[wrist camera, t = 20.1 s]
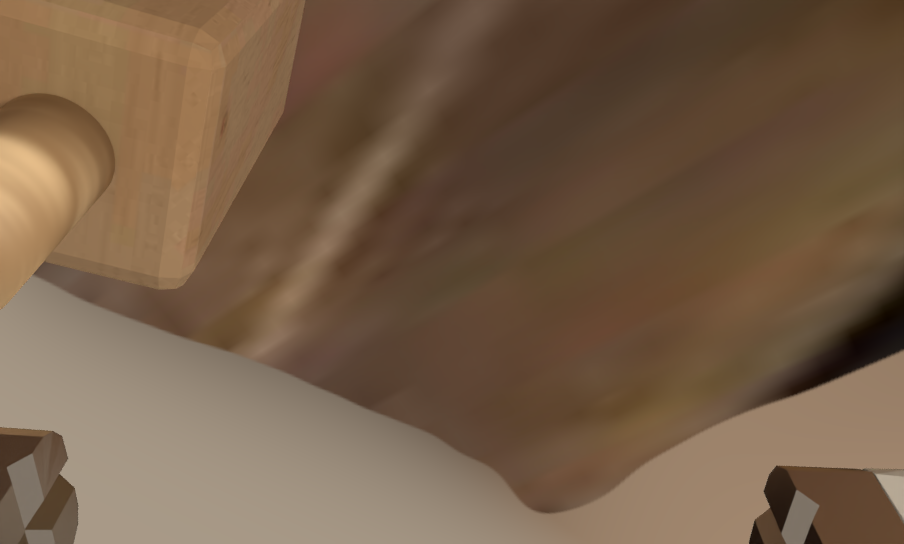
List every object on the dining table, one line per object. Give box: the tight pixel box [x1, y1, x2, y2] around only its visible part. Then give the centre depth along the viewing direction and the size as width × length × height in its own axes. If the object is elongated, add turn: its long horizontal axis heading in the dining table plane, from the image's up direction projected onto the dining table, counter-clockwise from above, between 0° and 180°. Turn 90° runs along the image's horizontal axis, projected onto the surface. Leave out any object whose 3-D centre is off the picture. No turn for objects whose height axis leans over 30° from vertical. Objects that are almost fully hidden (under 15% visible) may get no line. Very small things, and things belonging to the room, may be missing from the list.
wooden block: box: [0, 0, 305, 289], centre depth 37 cm, size 10×10×20 cm
